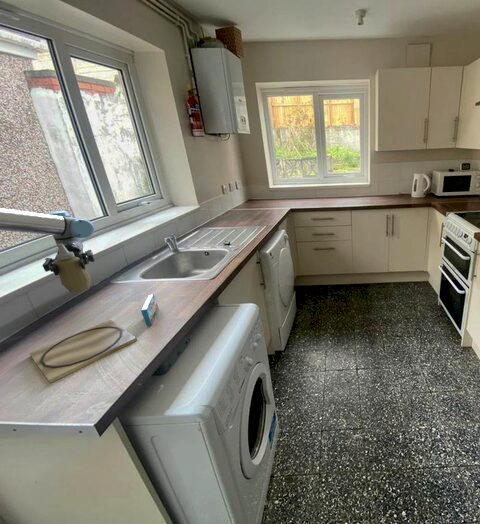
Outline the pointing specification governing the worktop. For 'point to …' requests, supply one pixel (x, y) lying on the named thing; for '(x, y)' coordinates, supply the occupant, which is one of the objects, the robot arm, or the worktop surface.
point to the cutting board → (81, 349)
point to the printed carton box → (150, 310)
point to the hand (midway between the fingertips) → (69, 268)
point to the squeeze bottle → (71, 271)
